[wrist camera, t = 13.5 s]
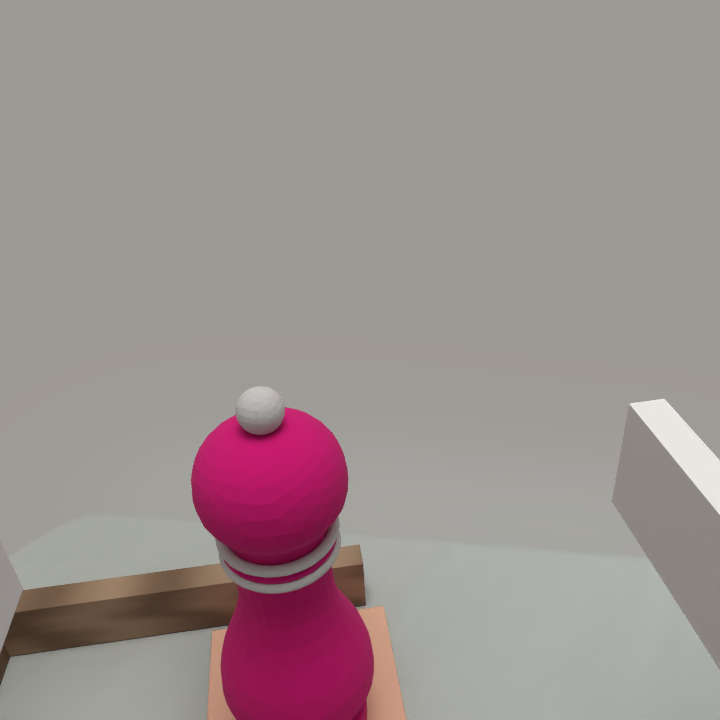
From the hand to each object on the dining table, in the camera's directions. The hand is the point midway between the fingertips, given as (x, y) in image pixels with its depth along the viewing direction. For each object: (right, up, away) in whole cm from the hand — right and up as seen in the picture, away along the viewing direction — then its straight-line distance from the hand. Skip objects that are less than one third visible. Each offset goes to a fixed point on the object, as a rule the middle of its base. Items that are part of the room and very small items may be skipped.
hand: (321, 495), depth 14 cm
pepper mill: (-2, -16, +21) cm, 26 cm away
